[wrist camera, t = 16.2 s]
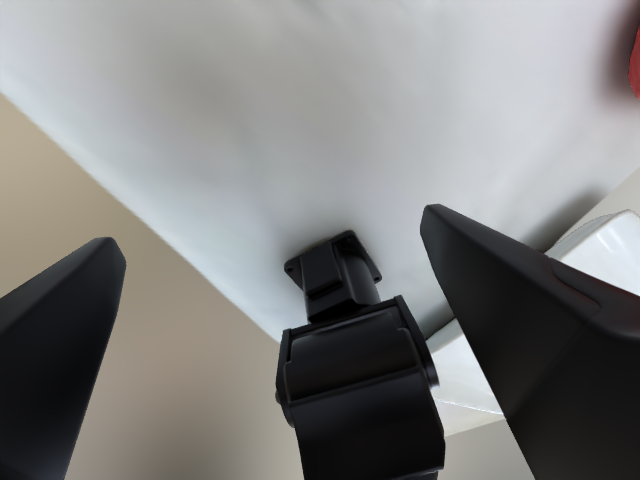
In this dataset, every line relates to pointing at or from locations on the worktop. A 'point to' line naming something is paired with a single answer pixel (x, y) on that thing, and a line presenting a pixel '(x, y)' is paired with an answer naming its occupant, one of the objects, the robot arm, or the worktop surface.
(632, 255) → the square plate
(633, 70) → the pomegranate
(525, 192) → the worktop surface
